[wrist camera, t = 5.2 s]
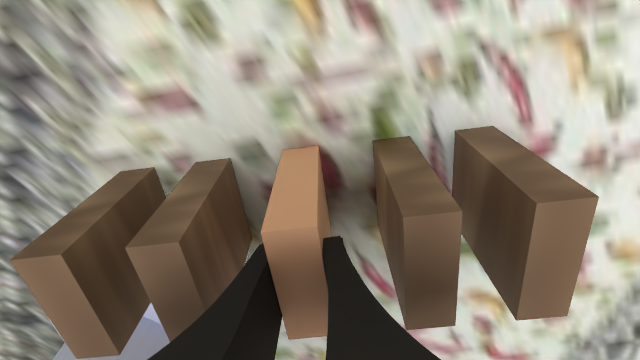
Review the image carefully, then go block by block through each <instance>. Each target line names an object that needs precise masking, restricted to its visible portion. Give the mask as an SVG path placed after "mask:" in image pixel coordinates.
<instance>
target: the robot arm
mask: <svg viewBox="0 0 640 360" xmlns="http://www.w3.org/2000/svg"><path fill="white" fill-rule="evenodd" d="M323 255H324V262H325V269H326V276H327V283H328V331H327V351H326V360H441V359H439V358H438V357H437V356H435V355H434V354H433V353H431V352H430V351H429V350H428V349H426V348H425V347H424V346H423V345H421V344H420V343H419V342H418V341H417V340H416V339H414V338H413V337H412V336H411V335H410V334H409V333H408V332H407V331H406V330H404V329H403V328H402V327H401V326H400V325H399V324H398V323H397V322H396V321H395V320H394V319H393V318H392V317H391V316H390V315H389V314H388V312H387V311H386V310H385V309H384V308H383V307H382V306H381V304H380V303H379V302H378V301H377V300H376V298H375V297H374V296H373V295H372V293H371V292H370V291H369V289H368V288H367V286H366V285H365V283H364V282H363V280H362V279H361V277H360V276H359V274H358V273H357V271H356V269H355V267H354V266H353V264H352V262H351V260H350V258H349V256H348V254H347V252H346V249H345V246H344V243H343V238H341V237H340V236H337V237H328V238H323ZM49 320H50V319H49ZM281 320H282V313H281V309H280V305H279V301H278V297H277V293H276V290H275V286H274V282H273V278H272V274H271V271H270V267H269V263H268V259H267V255H266V252H265V248H264V244H261V245H259V247H258V248H257V249H256V250H255V252H254V253H253V255H252V256H251V257H250V259H249V260H248V261H247V263H246V264H245V265H244V267H243V268H242V269H241V271H240V272H239V273H238V275H237V276H236V277H235V278H234V280H233V281H232V282H231V283H230V285H229V286H228V287H227V288H226V289H225V291H224V292H223V293H222V294H221V295H220V296H219V297H218V299H217V300H216V301H215V302H214V303H213V304H212V305H211V306H210V307H209V308H208V309H207V310H206V311H205V312H204V313H203V314H202V315H201V316H200V317H199V318H198V319H197V320H196V321H195V322H194V323H193V324H191V325H190V326H189V327H188V328H187V329H185V330H184V331H183V332H182V333H181V334H180V335H178V336H177V337H176V338H175V339H174V340H172V341H171V342H170V341H169V339H168V337H167V335H166V333H165V331H164V328H163V326H162V324H161V322H160V320H159V318H158V316H157V314H156V312H155V310H154V308H153V305H152V303H150V305H149V307H148V308H147V310H146V312H145V313H144V315H143V317H142V319H141V320H140V322H139V324H138V325H137V327H136V329H135V331H134V332H133V334H132V336H131V337H130V339H129V341H128V342H127V344H126V346H125V348H124V349H123V351H122V353H121V354H120V355H118V356H106V357H95V358H84V359H76V357H75V356H74V354H73V353H72V352H71V350H70V349H69V347H68V346H67V344H66V343H64V345H63V346H62V347H61V349H60V350H59V351H58V352H57V354H56V355H55V356H54V358H53V359H52V360H274V359H275V354H276V348H277V343H278V337H279V332H280V326H281ZM50 322H51V321H50ZM51 323H52V322H51ZM52 324H53V323H52ZM53 326H54V325H53ZM54 327H55V326H54ZM55 329H56V328H55ZM56 330H57V329H56ZM57 332H58V331H57ZM58 333H59V332H58ZM59 335H60V334H59ZM60 336H61V335H60ZM61 338H62V337H61ZM62 339H63V338H62ZM63 341H64V340H63ZM64 342H65V341H64Z"/></svg>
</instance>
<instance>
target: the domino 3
mask: <svg viewBox="0 0 640 360" xmlns="http://www.w3.org/2000/svg"><path fill="white" fill-rule="evenodd" d="M261 236H262V240H263V244H264V248H265V252H266V255H267V259H268V263H269V267H270V271H271V274H272V278H273V282H274V286H275V290H276V293H277V297H278V301H279V305H280V309H281V313H282V316H283V320H284V324H285V328H286V332H287V335H288V339H300V338H311V337H322V336H327V331H328V283H327V276H326V269H325V262H324V255H323V238H328V237H331V227H330V220H329V213H328V207H327V200H326V193H325V186H324V180H323V173H322V166H321V160H320V153H319V146H312V147H304V148H296V149H288V150H283V151H282V155H281V159H280V162H279V166H278V170H277V173H276V177H275V181H274V184H273V188H272V192H271V196H270V199H269V203H268V207H267V210H266V214H265V218H264V221H263V225H262V229H261Z"/></svg>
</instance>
